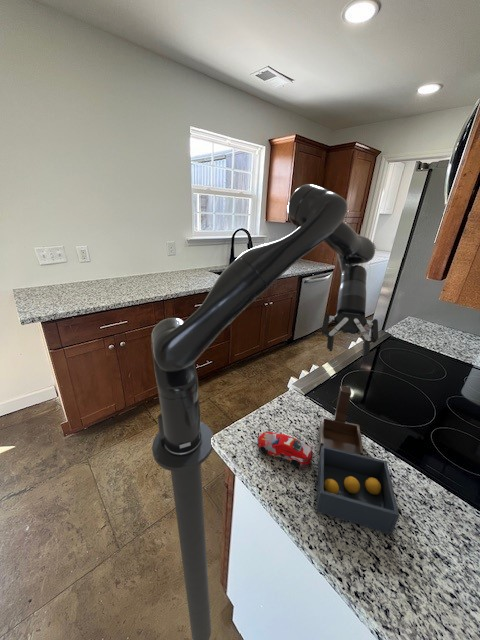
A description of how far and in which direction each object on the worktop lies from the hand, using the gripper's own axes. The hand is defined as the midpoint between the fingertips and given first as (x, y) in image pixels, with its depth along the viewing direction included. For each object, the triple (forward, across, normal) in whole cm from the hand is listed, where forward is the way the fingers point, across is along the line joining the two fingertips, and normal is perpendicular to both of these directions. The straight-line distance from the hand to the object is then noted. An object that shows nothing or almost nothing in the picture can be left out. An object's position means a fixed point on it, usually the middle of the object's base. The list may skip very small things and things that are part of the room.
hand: (347, 353), depth 71 cm
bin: (+32, +2, -6) cm, 32 cm away
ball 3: (+29, +6, -6) cm, 30 cm away
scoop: (+22, 0, +4) cm, 23 cm away
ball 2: (+30, +2, -6) cm, 31 cm away
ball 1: (+31, -2, -8) cm, 32 cm away
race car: (+28, -13, -1) cm, 30 cm away
